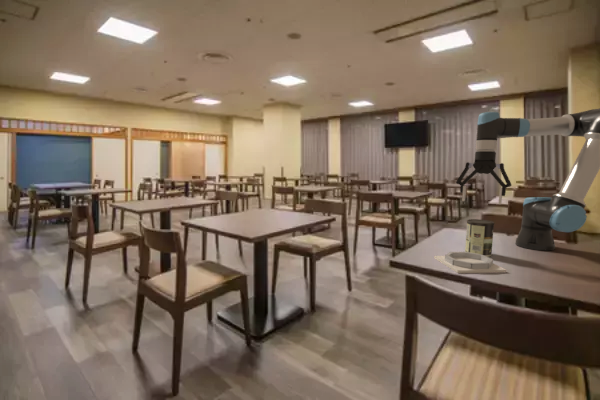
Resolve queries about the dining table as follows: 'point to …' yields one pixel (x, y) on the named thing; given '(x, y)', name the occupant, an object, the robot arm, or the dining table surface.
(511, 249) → the dining table surface
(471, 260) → the can holder
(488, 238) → the coffee can
